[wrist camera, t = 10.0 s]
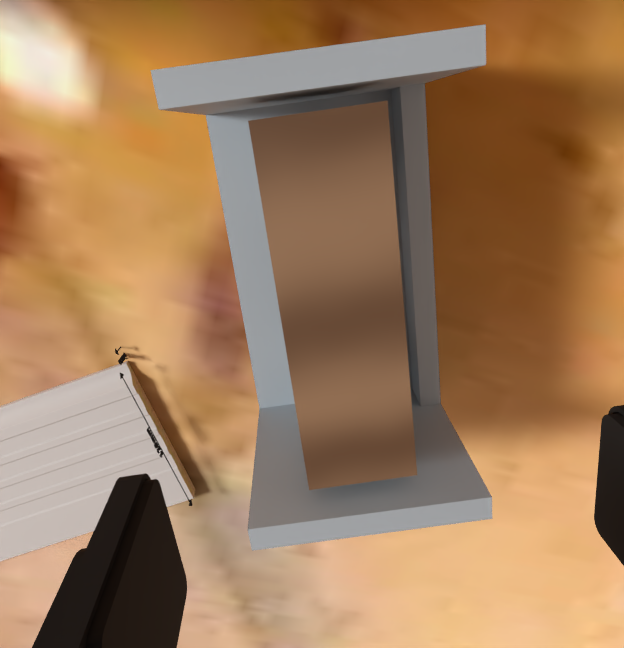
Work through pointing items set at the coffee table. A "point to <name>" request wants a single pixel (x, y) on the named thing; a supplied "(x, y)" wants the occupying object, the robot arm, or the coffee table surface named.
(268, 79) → the peg frame
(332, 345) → the shelf board
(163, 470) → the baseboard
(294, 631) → the coffee table surface
